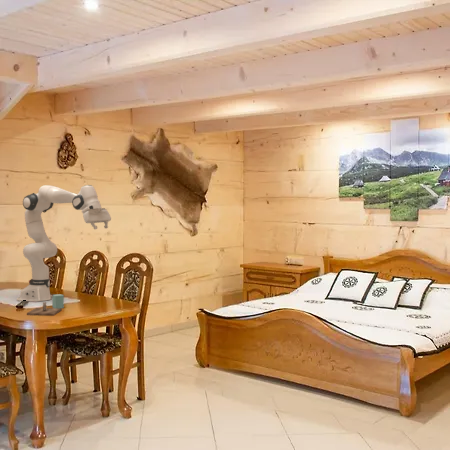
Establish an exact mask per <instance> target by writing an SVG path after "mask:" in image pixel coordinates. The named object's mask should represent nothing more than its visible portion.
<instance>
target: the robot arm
mask: <svg viewBox="0 0 450 450" xmlns="http://www.w3.org/2000/svg"><path fill="white" fill-rule="evenodd" d="M54 204H71V205H72V207H73V209H75V210H77V211H81V213H82V217H83V221H84V222H85V224H90V226H91V227H92V229H94V230H97V229H98V226H97V225H96V224H98V223H100V224H101V223H103V224H104V226H103V227H104V229H109V226H108V225H109V222H110V221H111V220H112V217H111V214H110V212H109V211H108V210H107V209H106V208H105V207H102V205H101V202H100V200H99V198H98V194H97V191H96V189H95V187H94V185H92V184H85V185H83V186H81V187H80V190H79V192H78V193H75V192H71V191H69V190H66V189H64V188H62V187H58V186H54V185H49V184H46V185H45V184H44V185H42V186H40V187H39V188H38V192H37V193H35V192H33V193H30V194H28V195H25V196H24V197H23V199H22V206H23V208H24V209H25V211H24V222H25V226H26V231H27V235H28V237H29V238H31V239H32V240H33V241H34V242H32V243H28V244H26V245H25V246H24V247H23V249H22V254H23V256H24V257H25V259H27V260H28V262H29V263H30V267H31V278H30V279H29V280H28V285H27V286H25V287H24V288H23V289H22V290H21V291H20V295H19V297H17V298H16V301H17V302H19V301H20V302H24V301H23V300H26V301H25V302H35V303H37V302H46V301H50V300H52V296H51V292H50V285H51V282H50V280H51V279H50V268H49V266H48V265H47V264H45V262H44V259H50V258H52V257H55V256H56V255H57V253H58V245H56V243H54V242H53V241H51V239H50V237H49V236H48V235H47V233H46V230H45V226H44V223H43V219H42V218H43V217H42V214H43V213H46V212H47V211H49V210H51V209H52V208H53V206H54Z"/></svg>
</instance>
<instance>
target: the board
mask: <svg viewBox="0 0 450 450" xmlns="http://www.w3.org/2000/svg"><path fill="white" fill-rule="evenodd" d="M62 310H63V308H59V309H57V308H53V307H51V308H50V307H47V302H46V301H42V307H35V308H33V309H32V310H30V311H28V312H26V315H27V316H51V317H52V316H55V315H57V314H58V313H60V312H61V311H62Z"/></svg>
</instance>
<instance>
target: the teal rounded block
mask: <svg viewBox="0 0 450 450" xmlns="http://www.w3.org/2000/svg"><path fill="white" fill-rule="evenodd" d="M51 295H52V296H51V300H52V301H51V302H52V307H51V308H57V309H64V307H65V303H64V302H65V301H64V300H65V298H64V294H60V293H59V294H58V293H57V294H51Z"/></svg>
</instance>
